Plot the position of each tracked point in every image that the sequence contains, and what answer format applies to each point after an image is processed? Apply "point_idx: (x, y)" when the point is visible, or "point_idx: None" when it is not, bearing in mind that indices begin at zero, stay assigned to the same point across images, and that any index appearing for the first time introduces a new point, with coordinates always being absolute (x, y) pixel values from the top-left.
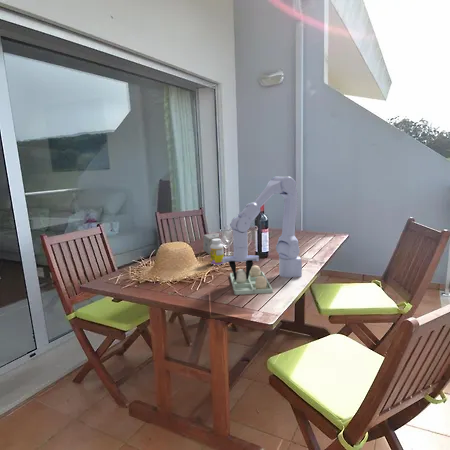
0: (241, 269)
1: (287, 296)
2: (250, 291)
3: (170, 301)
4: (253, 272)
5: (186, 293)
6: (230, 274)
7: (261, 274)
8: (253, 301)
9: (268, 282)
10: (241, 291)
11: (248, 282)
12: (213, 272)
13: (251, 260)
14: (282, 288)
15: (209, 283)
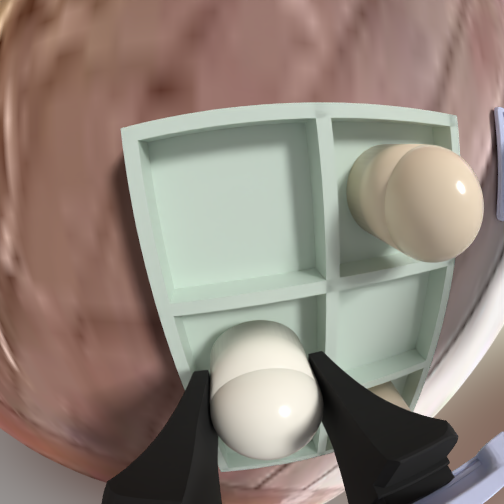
0: (282, 454)
1: (432, 405)
2: (302, 454)
3: (11, 431)
4: (403, 252)
5: (5, 392)
6: (130, 184)
7: (434, 127)
8: (301, 464)
9: (429, 363)
10: (256, 464)
11: (316, 313)
12: (20, 34)
13: (425, 501)
14: (458, 339)
15: (19, 280)
